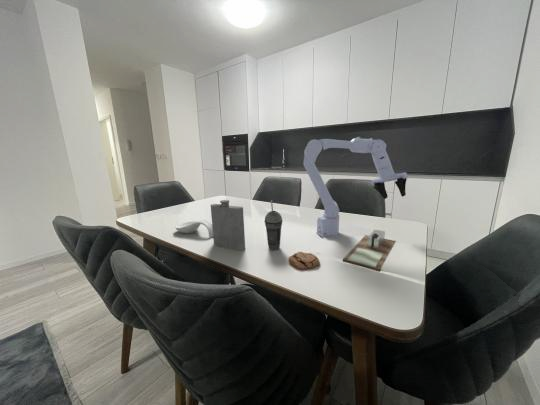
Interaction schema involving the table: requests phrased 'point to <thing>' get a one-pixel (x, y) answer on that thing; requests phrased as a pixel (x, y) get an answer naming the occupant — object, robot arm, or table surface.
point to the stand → (369, 254)
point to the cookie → (304, 260)
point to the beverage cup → (273, 228)
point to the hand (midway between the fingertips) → (394, 196)
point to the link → (376, 239)
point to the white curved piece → (194, 227)
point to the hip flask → (228, 225)
